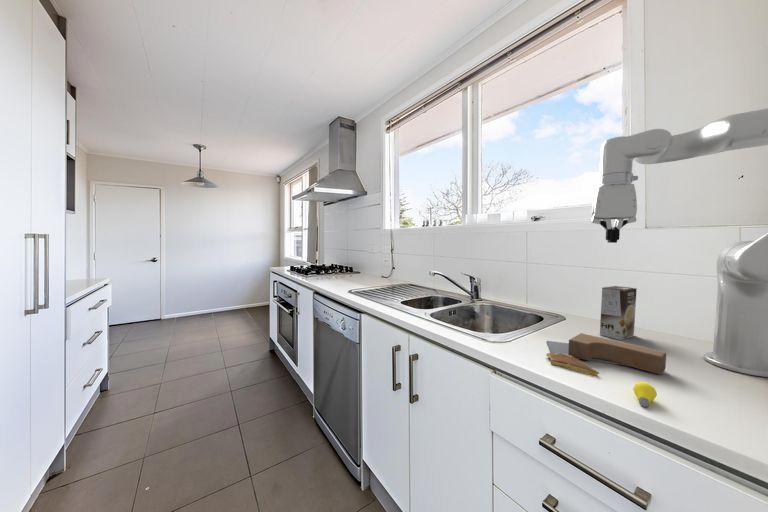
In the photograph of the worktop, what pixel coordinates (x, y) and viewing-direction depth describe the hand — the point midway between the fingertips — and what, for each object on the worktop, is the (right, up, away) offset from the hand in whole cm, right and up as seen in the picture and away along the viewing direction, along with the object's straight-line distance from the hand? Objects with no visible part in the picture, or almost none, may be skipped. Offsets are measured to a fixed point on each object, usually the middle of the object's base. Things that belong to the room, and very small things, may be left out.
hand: (612, 242), depth 87 cm
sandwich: (-21, -33, -13) cm, 41 cm away
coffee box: (+9, -31, +9) cm, 33 cm away
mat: (-10, -32, -7) cm, 34 cm away
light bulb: (-18, -33, -30) cm, 48 cm away
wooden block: (-16, -29, -6) cm, 33 cm away
